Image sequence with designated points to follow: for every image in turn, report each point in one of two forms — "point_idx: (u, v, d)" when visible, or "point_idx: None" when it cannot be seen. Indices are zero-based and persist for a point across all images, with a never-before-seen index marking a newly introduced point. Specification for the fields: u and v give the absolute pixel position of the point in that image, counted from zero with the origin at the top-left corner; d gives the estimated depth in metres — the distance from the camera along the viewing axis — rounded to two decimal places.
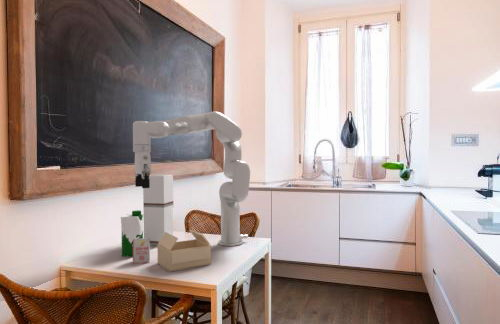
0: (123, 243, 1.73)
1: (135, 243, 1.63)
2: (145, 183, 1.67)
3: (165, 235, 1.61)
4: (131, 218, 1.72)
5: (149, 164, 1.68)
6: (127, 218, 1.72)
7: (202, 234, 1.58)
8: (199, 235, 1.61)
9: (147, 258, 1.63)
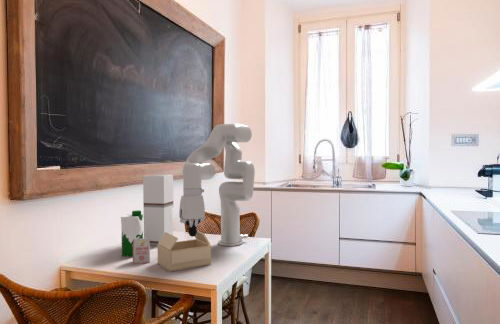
0: (123, 243, 1.73)
1: (135, 243, 1.63)
2: None
3: (165, 235, 1.61)
4: (131, 218, 1.72)
5: None
6: (127, 218, 1.72)
7: (203, 233, 1.58)
8: (200, 234, 1.61)
9: (147, 258, 1.63)
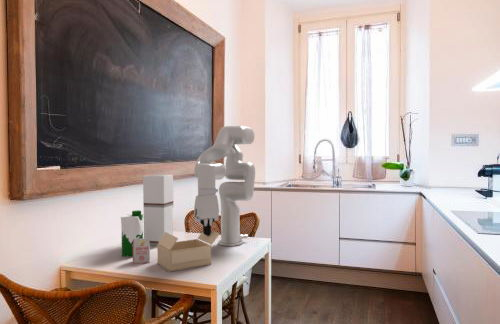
0: (123, 243, 1.73)
1: (135, 243, 1.63)
2: None
3: (165, 235, 1.61)
4: (131, 218, 1.72)
5: None
6: (127, 218, 1.72)
7: None
8: (214, 233, 1.64)
9: (147, 258, 1.63)
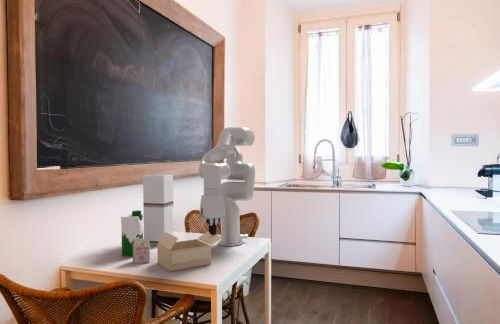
0: (123, 243, 1.73)
1: (135, 243, 1.63)
2: None
3: (165, 235, 1.61)
4: (131, 218, 1.72)
5: None
6: (127, 218, 1.72)
7: (221, 237, 1.63)
8: (216, 236, 1.65)
9: (147, 258, 1.63)
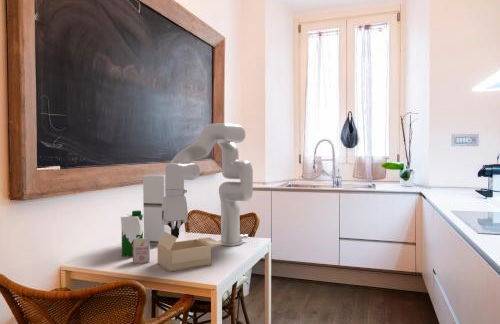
0: (123, 243, 1.73)
1: (135, 243, 1.63)
2: None
3: (164, 235, 1.61)
4: (131, 218, 1.72)
5: None
6: (127, 218, 1.72)
7: (222, 244, 1.63)
8: (217, 242, 1.65)
9: (147, 258, 1.63)
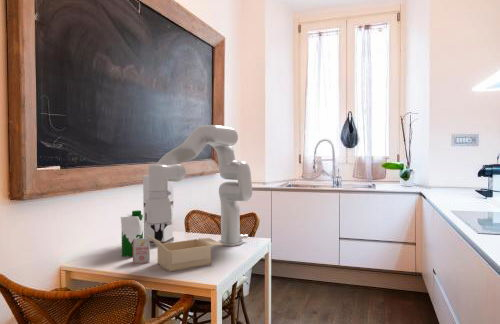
0: (123, 243, 1.73)
1: (135, 243, 1.63)
2: None
3: (151, 238, 1.58)
4: (131, 218, 1.72)
5: None
6: (127, 218, 1.72)
7: None
8: (217, 242, 1.65)
9: (147, 258, 1.63)
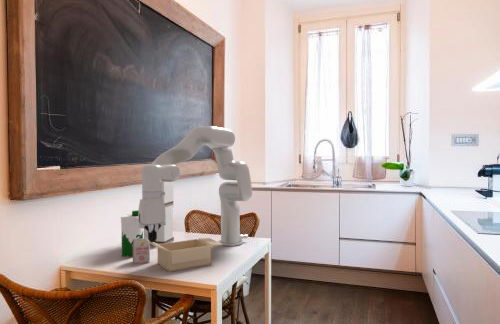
0: (123, 243, 1.73)
1: (135, 243, 1.63)
2: None
3: None
4: (131, 218, 1.72)
5: None
6: (127, 218, 1.72)
7: None
8: (217, 242, 1.65)
9: (147, 258, 1.63)
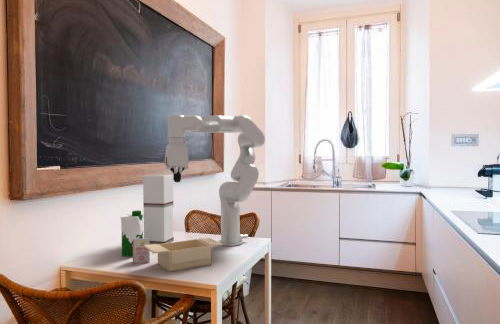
0: (123, 243, 1.73)
1: (135, 243, 1.63)
2: None
3: None
4: (131, 218, 1.72)
5: None
6: (127, 218, 1.72)
7: None
8: (217, 242, 1.65)
9: (147, 258, 1.63)
